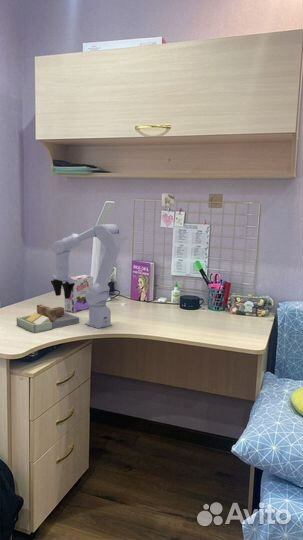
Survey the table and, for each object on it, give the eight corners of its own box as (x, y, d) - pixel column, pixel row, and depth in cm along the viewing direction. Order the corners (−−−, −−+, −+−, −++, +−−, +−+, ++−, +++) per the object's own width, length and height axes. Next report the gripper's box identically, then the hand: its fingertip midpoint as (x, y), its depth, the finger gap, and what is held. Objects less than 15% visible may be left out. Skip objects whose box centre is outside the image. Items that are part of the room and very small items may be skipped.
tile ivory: (50, 321, 179) (48, 317, 178) (41, 328, 176) (38, 324, 175) (44, 319, 182) (42, 315, 181) (34, 326, 180) (32, 322, 179)
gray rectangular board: (79, 323, 187) (79, 316, 187) (34, 333, 172) (34, 325, 171) (61, 316, 198) (61, 309, 197) (16, 325, 183) (16, 317, 182)
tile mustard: (43, 318, 183) (41, 314, 182) (33, 325, 180) (31, 321, 179) (37, 316, 187) (35, 312, 186) (27, 323, 184) (25, 319, 183)
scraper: (70, 317, 185) (70, 307, 184) (51, 320, 178) (51, 310, 178) (54, 311, 193) (54, 302, 193) (37, 315, 187) (36, 305, 187)
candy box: (72, 313, 204) (72, 279, 202) (64, 311, 208) (64, 277, 205) (93, 307, 215) (93, 275, 213) (85, 306, 219) (85, 274, 216)
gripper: (46, 266, 194) (46, 295, 196) (63, 270, 183) (63, 300, 185) (59, 264, 198) (59, 293, 201) (77, 268, 188) (77, 298, 190)
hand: (62, 296), depth 193 cm, fingers open, 7 cm apart
